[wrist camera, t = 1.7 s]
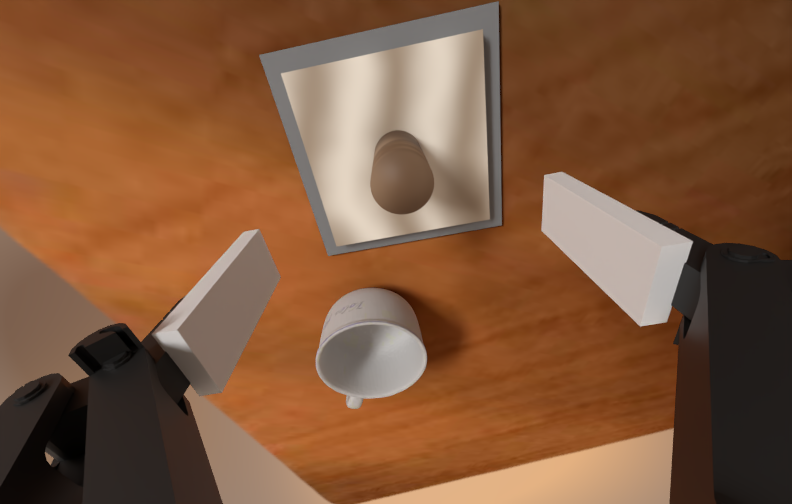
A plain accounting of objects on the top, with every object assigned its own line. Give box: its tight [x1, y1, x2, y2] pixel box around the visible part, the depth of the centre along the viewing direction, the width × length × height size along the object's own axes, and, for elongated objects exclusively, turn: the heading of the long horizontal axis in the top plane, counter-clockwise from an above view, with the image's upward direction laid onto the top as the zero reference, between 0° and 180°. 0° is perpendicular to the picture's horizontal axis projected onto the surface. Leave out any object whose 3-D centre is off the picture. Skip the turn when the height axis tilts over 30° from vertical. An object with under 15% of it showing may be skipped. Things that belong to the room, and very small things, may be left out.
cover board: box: [281, 29, 490, 246], centre depth 23 cm, size 15×15×9 cm
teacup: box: [316, 288, 427, 409], centre depth 34 cm, size 14×11×8 cm
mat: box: [259, 1, 502, 256], centre depth 28 cm, size 18×18×1 cm
